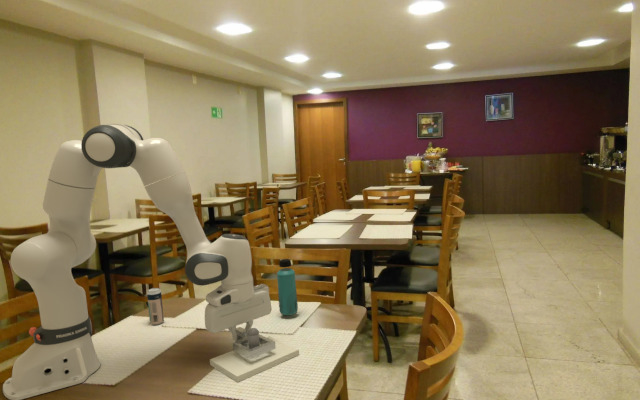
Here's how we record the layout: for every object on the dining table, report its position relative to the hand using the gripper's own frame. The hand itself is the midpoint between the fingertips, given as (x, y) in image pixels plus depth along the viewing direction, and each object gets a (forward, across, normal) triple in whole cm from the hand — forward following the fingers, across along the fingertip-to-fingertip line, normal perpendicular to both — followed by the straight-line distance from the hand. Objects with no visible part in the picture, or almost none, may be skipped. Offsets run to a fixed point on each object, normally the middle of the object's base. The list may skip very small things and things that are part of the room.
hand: (241, 337), depth 128 cm
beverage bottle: (+5, -27, -13) cm, 30 cm away
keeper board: (+5, 0, +6) cm, 8 cm away
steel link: (+2, 0, +4) cm, 4 cm away
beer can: (+5, +7, -44) cm, 45 cm away
